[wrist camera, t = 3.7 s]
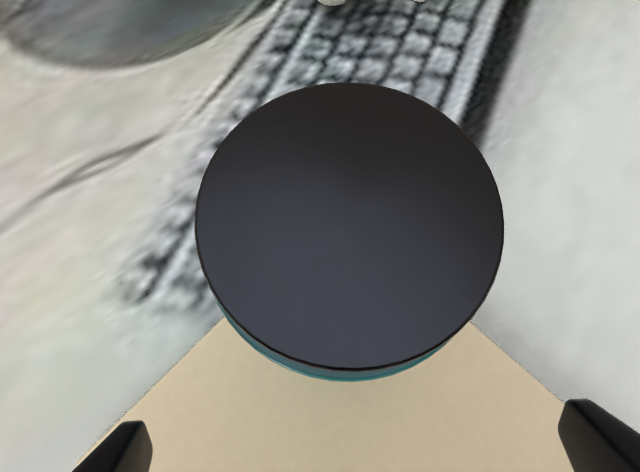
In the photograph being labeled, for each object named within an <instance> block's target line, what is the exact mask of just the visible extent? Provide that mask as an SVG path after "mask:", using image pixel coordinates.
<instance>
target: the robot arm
mask: <svg viewBox="0 0 640 472" xmlns="http://www.w3.org/2000/svg"><path fill="white" fill-rule="evenodd" d="M558 434H559V437H560V440H561V442H562V444H563V447H564V449H565V451H566V454H567V456H568V459H569V461H570V463H571V466H572V468H573V470H574V472H640V434H639V433H638V432H636V431H635V430H633V429H632V428H630V427H629V426H627V425H626V424H624V423H623V422H622V421H620V420H619V419H617V418H616V417H614V416H613V415H611V414H610V413H608V412H607V411H606V410H604V409H603V408H601V407H600V406H598V405H597V404H595V403H594V402H592V401H591V400H588V399H570V400H568V401H566V403H565V405H564V408H563V411H562V414H561V417H560V419H559V422H558ZM152 455H153V446H152V442H151V439H150V436H149V433H148V431H147V428H146V425H145V423H144V422H143V421H141V420H136V421H124V422H122V423H121V424H120V425H118V426H117V427H116V428H115V429H114V430H113V431H112V432H111V433H110V434H109V435H108V436H107V437H106V438H105V439H104V440H103V441H102V442H101V443H100V444H99V445H98V446H97V447H96V448H95V449H94V450H93V451H92V452H91V453H90V454H89V455H88V456H87V457H86V458H85V459H84V460H83V461H82V462H81V463H80V464H79V465H78V466H77V467H76V468H75V469H74V470H73V471H72V472H149V469H150V464H151V460H152Z"/></svg>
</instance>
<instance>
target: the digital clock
mask: <svg viewBox="0 0 640 472" xmlns="http://www.w3.org/2000/svg"><path fill="white" fill-rule="evenodd" d="M318 1H319V2H320V3H322V4H324V5H328V6H336V5H340V4H343V3H345V2H346V0H318ZM413 1H417V2H423V1H425V0H413Z"/></svg>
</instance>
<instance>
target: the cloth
mask: <svg viewBox="0 0 640 472" xmlns="http://www.w3.org/2000/svg"><path fill="white" fill-rule="evenodd" d="M564 405H565V404H564V403H563V402H562V401H560V400H559V399H558V398H557V397H556V396H555V395H553V394H552V393H551V392H550V391H549V390H548V389H547V388H545V387H544V386H543V385H542V384H541V383H540V382H538V381H537V380H536V379H535V378H534V377H533V376H532V375H530V374H529V373H528V372H527V371H526V370H525V369H523V368H522V367H521V366H520V365H519V364H518V363H517V362H515V361H514V360H513V359H512V358H511V357H510V356H508V355H507V354H506V353H505V352H504V351H503V350H502V349H500V348H499V347H498V346H497V345H496V344H495V343H493V342H492V341H491V340H490V339H489V338H488V337H487V336H485V335H484V334H483V333H482V332H481V331H480V330H478V329H477V328H476V327H475V326H474V325H473V324H472V323H470V322H468V323H467V324H466V325H465V326H464V327H463V328H462V329H461V330H460V331H459V332H458V333H457V334H456V335H455V336H454V337H453V338H452V339H451V340H450V341H449V342H448V343H447V344H446V345H445V346H444V347H443V348H441V349H440V350H439V351H437V352H436V353H435V354H434V355H432V356H431V357H430V358H428V359H426V360H425V361H423V362H421V363H419V364H418V365H416V366H414V367H412V368H410V369H408V370H405V371H403V372H400V373H397V374H395V375H392V376H388V377H384V378H380V379H375V380H369V381H359V382H338V381H327V380H322V379H317V378H311V377H308V376H305V375H302V374H299V373H296V372H293V371H290V370H288V369H286V368H284V367H282V366H280V365H278V364H276V363H274V362H272V361H271V360H269V359H268V358H266V357H265V356H263V355H262V354H260V353H259V352H258V351H256V350H255V349H254V348H253V347H252V346H250V345H249V344H248V343H247V342H246V341H245V340H244V339H243V338H242V337H241V336H240V335H239V334H238V333H237V332H236V330H235V329H234V328H233V327H232V326H231V324H230V323H229V322H228V320H227V319H226V317H225V316H224V317H223V318H222V319H221V320H220V321H219V322H218V323H217V324H216V325H215V326H214V327H213V328H212V329H211V330H210V331H209V332H208V333H207V334H206V335H205V336H204V337H203V338H202V339H201V340H200V341H199V342H198V343H197V344H196V345H195V346H194V347H193V348H192V349H191V350H190V351H189V352H188V353H187V354H186V355H185V356H184V357H183V358H182V359H181V360H180V361H179V362H178V363H177V364H176V365H175V366H174V367H173V368H172V369H171V370H170V371H169V372H168V373H167V374H166V375H165V376H164V377H163V378H162V379H161V380H160V381H159V382H158V383H157V384H156V385H155V386H154V387H153V388H151V389H150V390H149V391H148V392H147V393H146V394H145V395H144V396H143V397H142V398H141V399H140V400H139V401H138V402H137V403H136V404H135V405H134V406H133V407H132V408H131V409H130V410H129V411H128V412H127V413H126V414H125V415H124V416H123V417H122V418H121V419H120V420H119V421H118V422H117V423H116V424H115V425H114V426H113V427H112V428H111V429H110V430H109V431H108V432H107V433H106V434H105V435H104V436H103V437H102V438H101V439H100V440H99V441H98V442H97V443H96V444H95V445H94V446H93V447H92V448H91V449H90V450H89V451H88V452H87V453H86V454H85V455H84V456H83V457H82V458H81V459H80V460H79V461H77V465H79V464H80V463H81V462H82V461H83V460H84V459H85V458H86V457H87V456H88V455H89V454H90V453H91V452H92V451H93V450H94V449H95V448H96V447H97V446H98V445H99V444H100V443H101V442H102V441H103V440H104V439H105V438H106V437H107V436H108V435H109V434H110V433H111V432H112V431H113V430H114V429H115V428H116V427H117V426H118V425H120V424H121V423H122V422H124V421H136V420H141V421H143V422H144V423H145V425H146V428H147V431H148V433H149V436H150V439H151V442H152V446H153V455H152V460H151V464H150V469H149V472H574V470H573V468H572V466H571V463H570V461H569V459H568V456H567V454H566V451H565V449H564V447H563V444H562V442H561V440H560V437H559V434H558V422H559V419H560V417H561V414H562V411H563V408H564Z"/></svg>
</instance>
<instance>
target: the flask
mask: <svg viewBox="0 0 640 472" xmlns="http://www.w3.org/2000/svg"><path fill="white" fill-rule="evenodd" d="M195 240H196V248H197V253H198V257H199V261H200V264H201V268H202V271H203V274H204V276H205V278H206V280H207V283H208V285H209V287H210V289H211V291H212V293H213V295H214V297H215V299H216V301H217V304H218V306H219V307H220V309H221V311H222V312H223V314H224V315H225V317H226V319H227V320H228V322H229V323H230V324H231V326H232V327H233V328H234V329H235V330H236V332H237V333H238V334H239V335H240V336H241V337H242V338H243V339H244V340H245V341H246V342H247V343H248V344H249V345H250V346H252V347H253V348H254V349H255V350H256V351H258V352H259V353H260V354H262V355H263V356H265V357H266V358H268V359H269V360H271V361H272V362H274V363H276V364H278V365H280V366H282V367H284V368H286V369H288V370H290V371H293V372H296V373H299V374H302V375H305V376H308V377H311V378H317V379H322V380H327V381H338V382H359V381H369V380H375V379H380V378H384V377H388V376H392V375H395V374H397V373H400V372H403V371H405V370H408V369H410V368H412V367H414V366H416V365H418V364H419V363H421V362H423V361H425V360H426V359H428V358H430V357H431V356H432V355H434V354H435V353H436V352H437V351H439V350H440V349H441V348H443V347H444V346H445V345H446V344H447V343H448V342H449V341H450V340H451V339H452V338H453V337H454V336H455V335H456V334H457V333H458V332H459V331H460V330H461V329H462V328H463V327H464V326H465V325H466V324H467V323H468V322H469V321H470V320H471V319H472V318H473V316H474V315H475V314H476V312H477V311H478V309H479V308H480V307H481V305H482V304H483V302H484V301H485V299H486V297H487V295H488V293H489V291H490V289H491V287H492V285H493V283H494V281H495V278H496V275H497V272H498V268H499V265H500V262H501V256H502V250H503V244H504V218H503V209H502V203H501V199H500V195H499V191H498V187H497V185H496V182H495V180H494V177H493V175H492V172H491V170H490V168H489V166H488V164H487V163H486V161H485V159H484V157H483V156H482V154H481V152H480V151H479V150H478V148H477V147H476V146H475V144H474V143H473V142H472V140H471V139H470V138H469V137H468V136H467V135H466V134H465V133H464V132H463V130H462V129H461V128H460V127H459V126H458V125H457V124H455V123H454V122H453V121H452V120H451V119H449V118H448V117H447V116H446V115H445V114H443V113H442V112H440V111H439V110H437V109H436V108H434V107H432V106H431V105H429V104H428V103H426V102H424V101H422V100H420V99H418V98H416V97H414V96H411V95H409V94H406V93H403V92H401V91H398V90H395V89H391V88H387V87H383V86H379V85H373V84H366V83H353V82H338V83H325V84H320V85H314V86H309V87H305V88H302V89H298V90H295V91H292V92H289V93H287V94H284V95H282V96H280V97H278V98H275V99H273V100H271V101H270V102H268V103H266V104H265V105H263V106H261V107H259V108H258V109H256V110H255V111H254V112H252V113H251V114H250V115H248V116H247V117H246V118H244V119H243V120H242V121H241V122H240V123H239V124H238V125H237V126H236V127H235V128H234V129H233V130H232V131H231V132H230V133H229V134H228V136H227V137H226V138H225V139H224V141H223V142H222V143H221V144H220V146H219V147H218V149H217V151H216V152H215V154H214V155H213V157H212V159H211V160H210V163H209V165H208V167H207V169H206V171H205V174H204V176H203V179H202V182H201V186H200V189H199V192H198V196H197V202H196V209H195Z"/></svg>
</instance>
